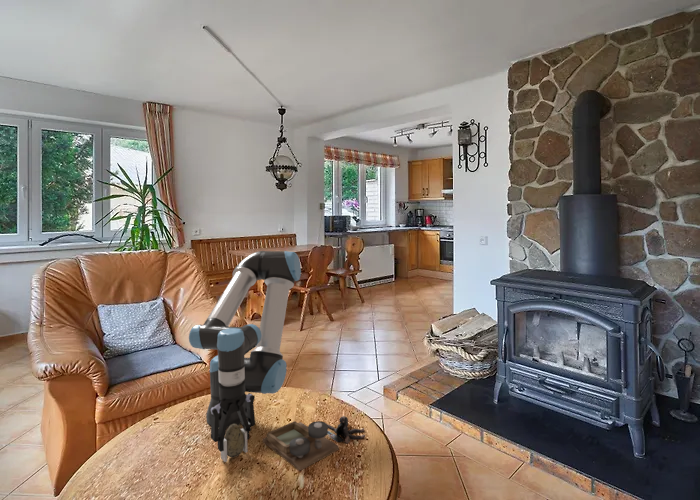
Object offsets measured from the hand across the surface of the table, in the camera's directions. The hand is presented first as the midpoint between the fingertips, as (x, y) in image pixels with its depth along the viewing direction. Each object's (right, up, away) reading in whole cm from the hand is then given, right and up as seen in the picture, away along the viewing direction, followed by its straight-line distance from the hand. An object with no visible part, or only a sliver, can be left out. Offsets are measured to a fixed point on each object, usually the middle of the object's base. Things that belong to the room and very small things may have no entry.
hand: (234, 454), depth 120 cm
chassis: (+19, 0, +6) cm, 20 cm away
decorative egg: (0, 0, 0) cm, 1 cm away
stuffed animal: (+33, 0, +13) cm, 35 cm away
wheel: (+25, +5, +3) cm, 26 cm away
